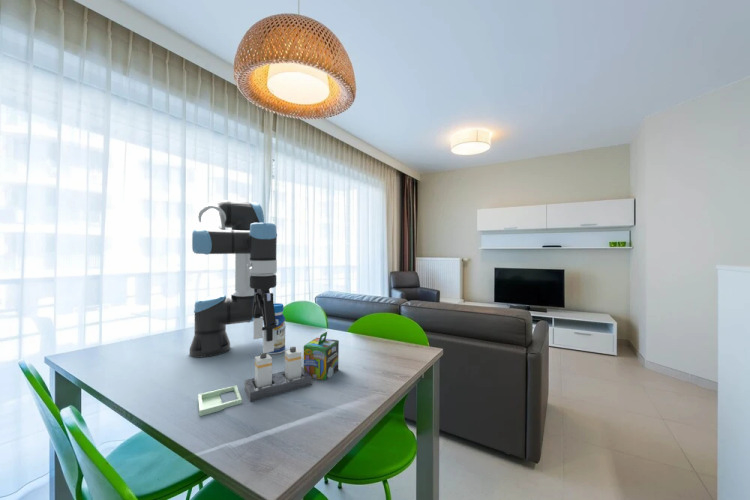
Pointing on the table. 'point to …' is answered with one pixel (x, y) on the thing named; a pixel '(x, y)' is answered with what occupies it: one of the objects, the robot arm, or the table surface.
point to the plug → (263, 370)
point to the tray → (216, 400)
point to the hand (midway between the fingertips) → (263, 344)
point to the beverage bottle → (279, 330)
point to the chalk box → (321, 357)
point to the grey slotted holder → (277, 385)
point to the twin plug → (292, 363)
